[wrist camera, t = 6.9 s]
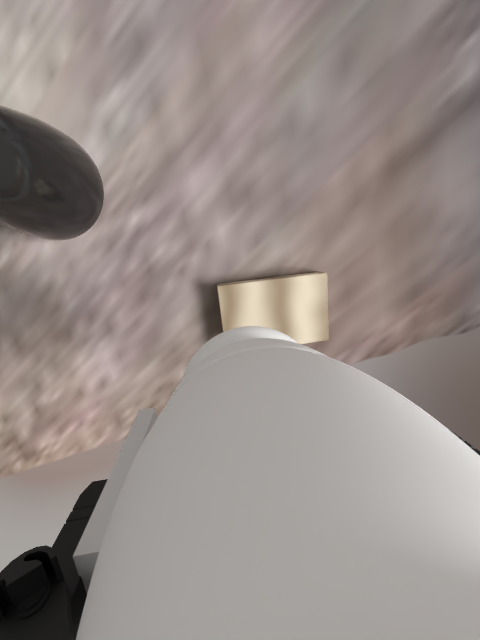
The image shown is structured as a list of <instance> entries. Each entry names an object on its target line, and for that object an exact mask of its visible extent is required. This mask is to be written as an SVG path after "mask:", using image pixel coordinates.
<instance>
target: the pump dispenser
mask: <svg viewBox="0 0 480 640" xmlns="http://www.w3.org/2000/svg"><path fill="white" fill-rule="evenodd" d="M103 199H104V191H103V184H102V180H101V176H100V174H99V171H98V169H97V167H96V165H95V163H94V162H93V160H92V159H91V157H90V156H89V155H88V153H87V152H86V151H85V150H84V149H83V148H82V147H81V146H80V145H79V144H78V143H76V142H75V141H74V140H73V139H71V138H70V137H69V136H67V135H66V134H64V133H63V132H61V131H59V130H58V129H56V128H54V127H52V126H50V125H49V124H47V123H45V122H43V121H41V120H39V119H36V118H34V117H32V116H29V115H27V114H24V113H22V112H19V111H16V110H13V109H10V108H7V107H4V106H0V224H2V225H4V226H6V227H9V228H11V229H14V230H16V231H19V232H21V233H24V234H27V235H30V236H33V237H37V238H41V239H47V240H67V239H72V238H75V237H77V236H80V235H82V234H83V233H85V232H86V231H87V230H89V229H90V228H91V227H92V226H93V225H94V223H95V222H96V221H97V219H98V217H99V215H100V213H101V210H102V206H103Z"/></svg>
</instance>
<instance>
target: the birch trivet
mask: <svg viewBox="0 0 480 640" xmlns="http://www.w3.org/2000/svg"><path fill="white" fill-rule="evenodd" d="M217 292H218V299H219V307H220V315H221V323H222V330H223V332H225V331H228V330H230V329H234V328H239V327H245V326H260V327H266V328H271V329H274V330H277V331H279V332H282V333H284V334H286V335H288V336H289V337H291V338H292V339H294V340H295V341H296V342H297V343H298V344H304V343H310V342H317V341H324V340H329V330H328V288H327V273H325V272H312V273H304V274H296V275H288V276H280V277H271V278H263V279H255V280H247V281H239V282H231V283H222V284H217Z"/></svg>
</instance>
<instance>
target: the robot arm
mask: <svg viewBox="0 0 480 640" xmlns="http://www.w3.org/2000/svg"><path fill="white" fill-rule="evenodd" d="M156 420H157V415H156V410H155V408H150V409H143V410H139V412H138V414H137V416H136V418H135V421H134V423H133V425H132V427H131V429H130V432H129V434H128V436H127V438H126V440H125V443H124V445H123V447H122V449H121V451H120V454H119V456H118V458H117V460H116V463H115V465H114V467H113V469H112V471H111V473H110V476H109V478H108V479H106V480H100V481H94V482H92V483H91V484H90V485H89V486H88V487H87V488H86V489H85V490H84V491H83V492H82V494H81V495H80V496H79V498H78V500H77V502H76V504H75V506H74V508H73V511H72V512H71V513H70V515H69V517H68V519H67V520H66V524H64V526H63V528H62V530H61V531H60V533H59V535H58V537H57V539H56V541H55V543H54V544H53V546H52V548H51V547H49V546H40V547H35V548H33V549H31V550H29V551H27V552H24V553H23V554H21V555H20V556H19V557H17V558H16V559H14V560H13V561H11V562H10V563H9V565H8V566H6V567H5V568H4V569H3V570H2V571H1V572H0V640H76V637H77V632H78V628H79V624H80V620H81V616H82V612H83V608H84V605H85V601H86V597H87V593H88V589H89V586H90V582H91V578H92V575H93V571H94V568H95V564H96V561H97V558H98V554H99V551H100V548H101V544H102V541H103V538H104V535H105V532H106V529H107V526H108V523H109V520H110V517H111V514H112V512H113V509H114V506H115V504H116V501H117V498H118V496H119V493H120V491H121V488H122V486H123V483H124V481H125V479H126V476H127V474H128V472H129V470H130V467H131V465H132V463H133V461H134V459H135V457H136V455H137V453H138V451H139V449H140V447H141V445H142V443H143V441H144V440H145V438H146V436H147V434H148V433H149V431H150V429H151V428H152V426H153V424H154V423H155V421H156ZM448 430H449V429H448ZM451 432H452V431H451ZM452 433H453V432H452ZM453 434H455V433H453ZM455 435H456V434H455ZM456 436H457V435H456ZM457 437H458V438H459V439H461V440H462V441H463V439H462V438H460V437H459V436H457ZM463 442H464V443H465V444H467V445H468V446H469V447H470V448H471V449H472V450H474V451H475V452H476V453H477V454H478V455H479V456H480V451H478V450H477V449H474V448H473V446H471V445H470V444H469V443H467V442H466V441H463Z"/></svg>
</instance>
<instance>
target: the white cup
mask: <svg viewBox="0 0 480 640" xmlns="http://www.w3.org/2000/svg"><path fill="white" fill-rule="evenodd" d="M76 640H480V456H479V455H478V454H477V453H476V452H475V451H474V450H472V449H471V448H470V447H469V446H468V445H467V444H465V443H464V442H463V441H462V440H461V439H459V438H458V437H457V436H456V435H455V434H453V433H452V432H451V431H450V430H448V429H447V428H446V427H444V426H443V425H442V424H441V423H439V422H438V421H437V420H436V419H434V418H433V417H432V416H430V415H429V414H428V413H426V412H425V411H424V410H422V409H421V408H420V407H418V406H417V405H415V404H414V403H413V402H411V401H410V400H408V399H407V398H405V397H404V396H402V395H401V394H399V393H398V392H396V391H395V390H393V389H392V388H390V387H388V386H387V385H385V384H383V383H382V382H380V381H378V380H376V379H375V378H373V377H371V376H369V375H367V374H366V373H364V372H362V371H359V370H358V369H356V368H354V367H352V366H349V365H347V364H345V363H342V362H340V361H338V360H335V359H332V358H330V357H328V356H326V355H324V354H322V353H320V352H318V351H316V350H314V349H312V348H309V347H307V346H304V345H301V344H298V343H297V342H296V341H295V340H294V339H292V338H291V337H289V336H288V335H286V334H284V333H282V332H279V331H277V330H274V329H271V328H266V327H260V326H245V327H239V328H234V329H230V330H228V331H225V332H223V333H220V334H218V335H216V336H215V337H213V338H212V339H210V340H209V341H207V342H206V343H205V344H204V345H203V346H202V347H201V348H200V349H199V350H198V351H197V352H196V353H195V354H194V356H193V357H192V359H191V360H190V362H189V364H188V366H187V368H186V370H185V373H184V376H183V379H182V381H181V382H180V383H179V385H178V386H177V388H176V389H175V391H174V392H173V394H172V396H171V397H170V399H169V401H168V403H167V405H166V406H165V408H164V409H163V411H162V412H161V413H160V415H159V416H158V418H157V420H156V421H155V423H154V424H153V426H152V428H151V429H150V431H149V433H148V434H147V436H146V438H145V440H144V441H143V443H142V445H141V447H140V449H139V451H138V453H137V455H136V457H135V459H134V461H133V463H132V465H131V467H130V470H129V472H128V474H127V476H126V479H125V481H124V483H123V486H122V488H121V491H120V493H119V496H118V498H117V501H116V504H115V506H114V509H113V512H112V514H111V517H110V520H109V523H108V526H107V529H106V532H105V535H104V538H103V541H102V544H101V548H100V551H99V554H98V558H97V561H96V564H95V568H94V571H93V575H92V578H91V582H90V586H89V589H88V593H87V597H86V601H85V605H84V608H83V612H82V616H81V620H80V624H79V628H78V632H77V637H76Z"/></svg>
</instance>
